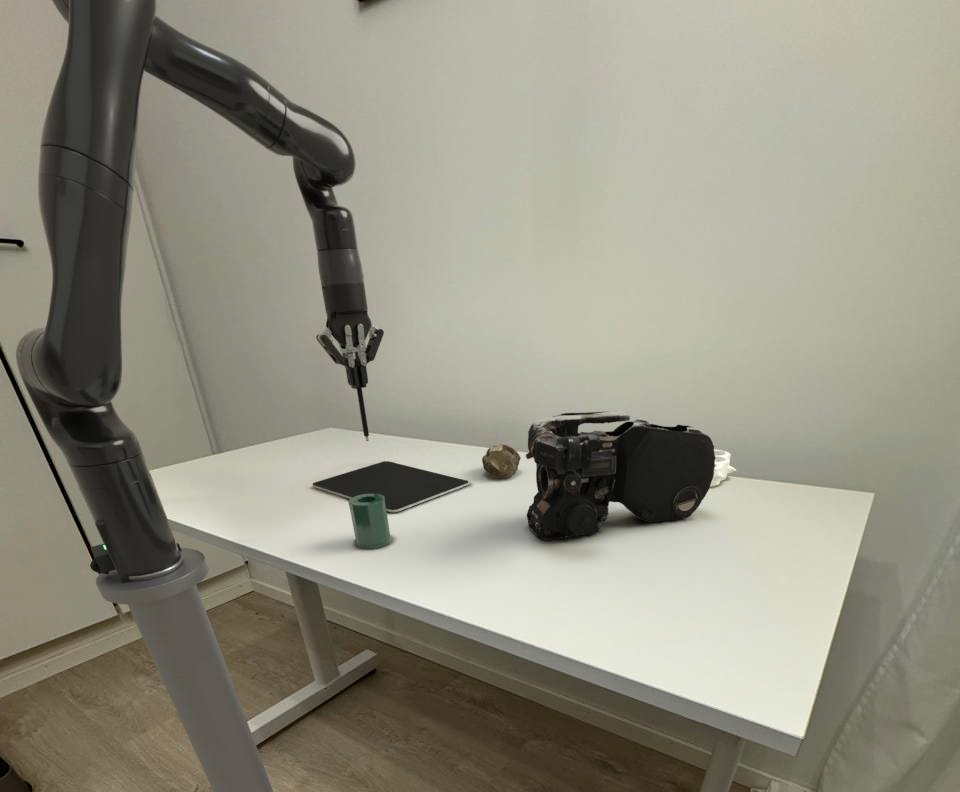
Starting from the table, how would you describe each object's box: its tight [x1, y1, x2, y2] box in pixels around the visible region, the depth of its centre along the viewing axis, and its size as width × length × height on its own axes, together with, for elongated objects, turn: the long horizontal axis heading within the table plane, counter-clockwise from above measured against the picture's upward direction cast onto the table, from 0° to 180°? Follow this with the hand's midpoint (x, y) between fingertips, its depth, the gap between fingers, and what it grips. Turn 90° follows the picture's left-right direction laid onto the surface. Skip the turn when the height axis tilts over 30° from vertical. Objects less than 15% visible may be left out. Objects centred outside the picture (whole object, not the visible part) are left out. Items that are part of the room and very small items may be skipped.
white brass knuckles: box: [710, 449, 737, 488], centre depth 106 cm, size 3×18×15 cm
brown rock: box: [481, 443, 521, 478], centre depth 114 cm, size 8×7×10 cm
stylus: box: [354, 358, 370, 442], centre depth 109 cm, size 1×1×15 cm
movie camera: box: [525, 410, 716, 541], centre depth 84 cm, size 31×18×18 cm, turn 100°
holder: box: [348, 494, 392, 550], centre depth 86 cm, size 5×6×7 cm
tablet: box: [312, 460, 469, 513], centre depth 112 cm, size 27×1×20 cm
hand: (358, 387), depth 107 cm, fingers closed on stylus, 1 cm apart
